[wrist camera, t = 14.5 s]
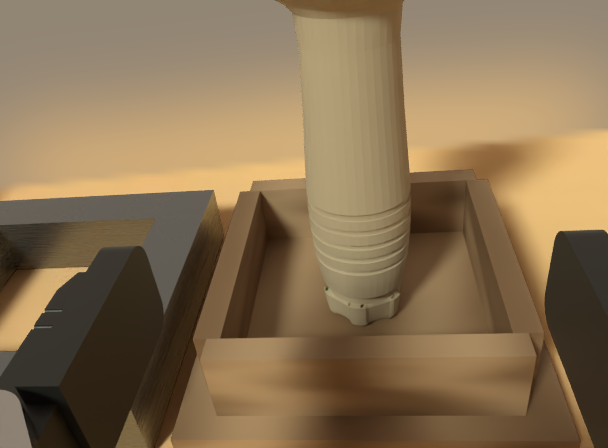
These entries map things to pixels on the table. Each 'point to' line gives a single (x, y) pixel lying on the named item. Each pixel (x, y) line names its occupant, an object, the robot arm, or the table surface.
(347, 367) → the tray
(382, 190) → the handle
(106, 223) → the socket block
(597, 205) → the table surface
